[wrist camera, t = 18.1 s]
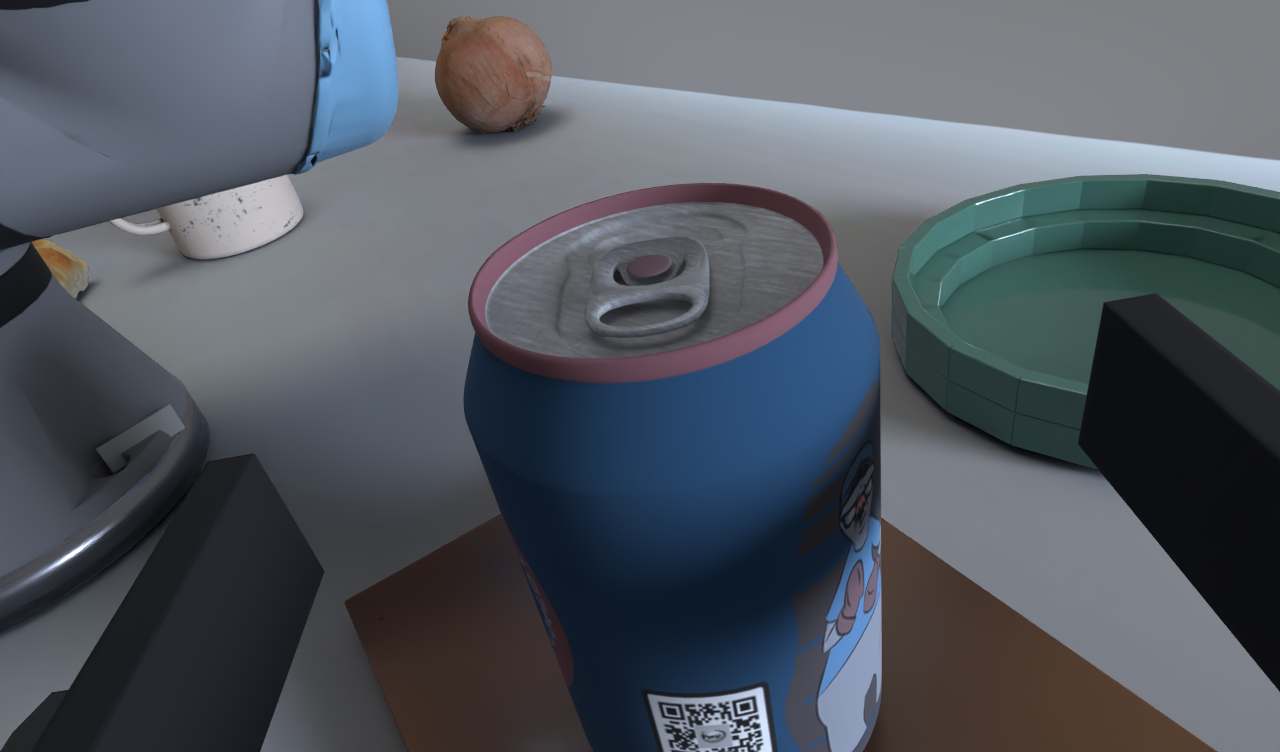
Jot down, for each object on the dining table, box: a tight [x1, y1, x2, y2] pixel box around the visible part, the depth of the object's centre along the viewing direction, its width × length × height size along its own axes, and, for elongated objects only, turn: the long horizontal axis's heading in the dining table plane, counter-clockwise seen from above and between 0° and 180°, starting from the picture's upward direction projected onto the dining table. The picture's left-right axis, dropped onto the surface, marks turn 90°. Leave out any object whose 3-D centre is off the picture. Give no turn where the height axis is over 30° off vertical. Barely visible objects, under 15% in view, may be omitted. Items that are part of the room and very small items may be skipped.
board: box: [345, 514, 1217, 752], centre depth 19 cm, size 20×14×1 cm
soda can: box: [464, 183, 882, 752], centre depth 16 cm, size 7×7×12 cm
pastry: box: [32, 239, 89, 299], centre depth 49 cm, size 9×7×4 cm
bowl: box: [892, 174, 1280, 470], centre depth 29 cm, size 16×16×3 cm
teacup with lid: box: [108, 175, 303, 259], centre depth 52 cm, size 12×9×12 cm
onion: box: [435, 16, 552, 133], centre depth 64 cm, size 10×9×10 cm
